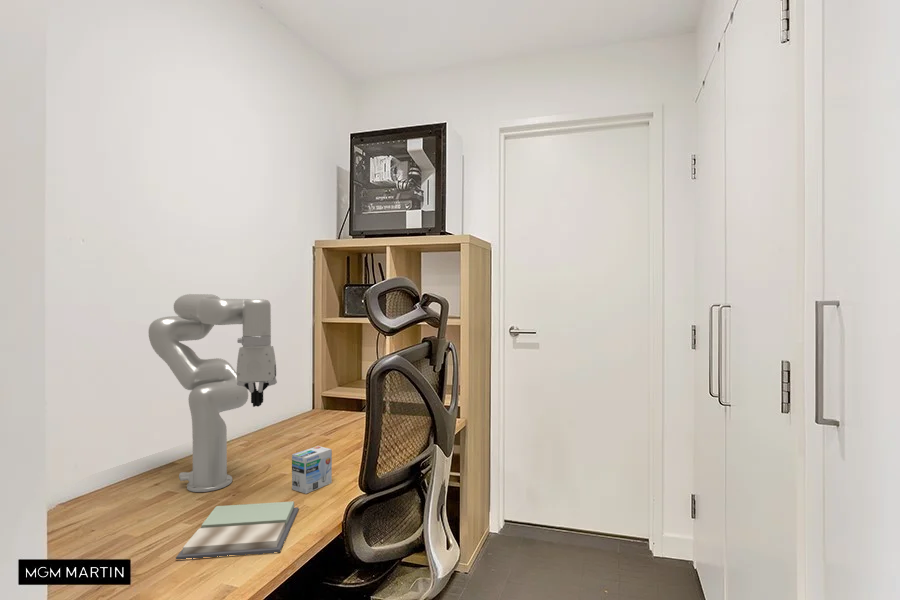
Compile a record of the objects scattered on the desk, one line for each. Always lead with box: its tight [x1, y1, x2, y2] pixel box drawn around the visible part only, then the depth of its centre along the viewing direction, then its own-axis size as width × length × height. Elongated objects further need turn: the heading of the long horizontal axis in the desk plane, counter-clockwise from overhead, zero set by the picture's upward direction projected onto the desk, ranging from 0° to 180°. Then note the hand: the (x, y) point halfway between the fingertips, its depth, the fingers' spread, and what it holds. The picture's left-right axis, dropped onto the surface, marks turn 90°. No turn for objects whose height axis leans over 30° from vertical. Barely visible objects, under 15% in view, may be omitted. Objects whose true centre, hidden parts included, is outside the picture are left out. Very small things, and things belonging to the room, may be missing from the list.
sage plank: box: [200, 500, 295, 528], centre depth 120 cm, size 20×10×2 cm, turn 98°
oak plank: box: [182, 523, 286, 554], centre depth 110 cm, size 20×10×2 cm, turn 98°
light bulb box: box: [291, 445, 333, 494], centre depth 144 cm, size 11×7×11 cm, turn 148°
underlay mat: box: [175, 507, 299, 560], centre depth 115 cm, size 22×22×1 cm
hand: (257, 405), depth 135 cm, fingers closed
